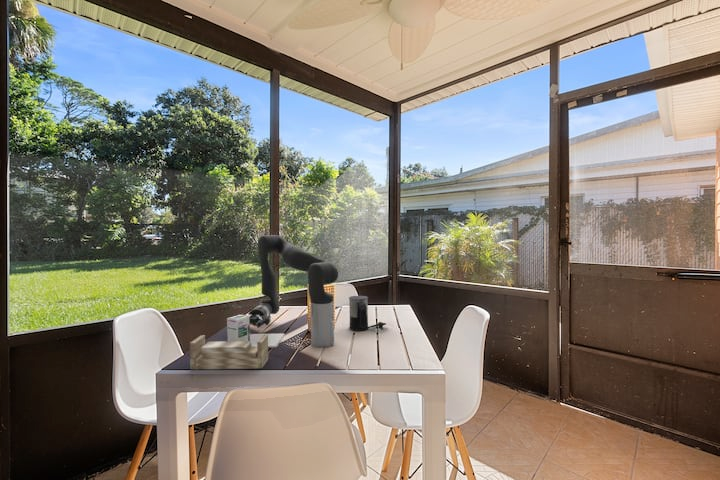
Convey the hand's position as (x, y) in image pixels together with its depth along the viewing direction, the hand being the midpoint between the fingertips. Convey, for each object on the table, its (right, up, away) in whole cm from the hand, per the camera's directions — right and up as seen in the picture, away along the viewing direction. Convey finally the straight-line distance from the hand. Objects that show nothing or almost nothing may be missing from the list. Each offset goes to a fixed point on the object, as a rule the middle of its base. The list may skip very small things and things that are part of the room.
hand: (247, 325), depth 135 cm
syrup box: (0, -9, -10) cm, 13 cm away
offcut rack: (0, -9, -18) cm, 20 cm away
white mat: (+4, -8, +6) cm, 11 cm away
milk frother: (+49, -8, +23) cm, 54 cm away
